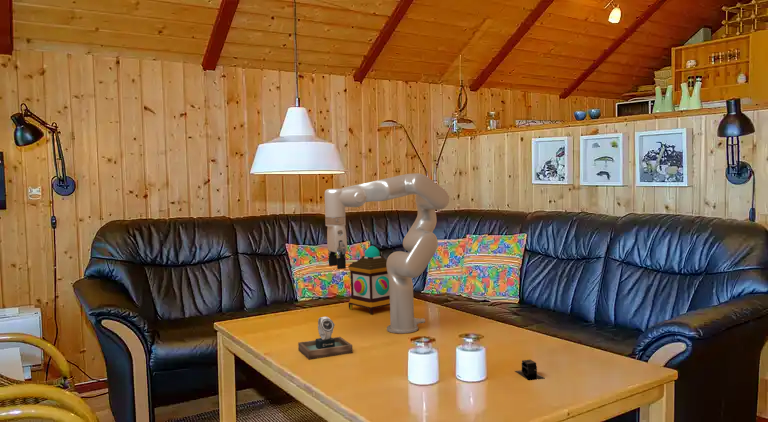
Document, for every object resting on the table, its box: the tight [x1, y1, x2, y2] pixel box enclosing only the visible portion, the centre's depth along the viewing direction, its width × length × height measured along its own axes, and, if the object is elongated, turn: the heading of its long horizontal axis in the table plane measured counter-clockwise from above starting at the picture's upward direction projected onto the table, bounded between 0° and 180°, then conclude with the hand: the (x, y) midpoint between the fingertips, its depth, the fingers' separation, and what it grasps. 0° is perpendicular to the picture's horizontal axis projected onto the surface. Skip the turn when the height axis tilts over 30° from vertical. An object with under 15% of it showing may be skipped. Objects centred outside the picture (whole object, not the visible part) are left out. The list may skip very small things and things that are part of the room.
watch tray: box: [297, 336, 353, 360], centre depth 214 cm, size 16×13×3 cm
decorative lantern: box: [347, 245, 390, 316], centre depth 281 cm, size 20×20×30 cm
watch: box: [315, 316, 336, 349], centre depth 214 cm, size 6×8×11 cm
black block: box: [514, 359, 546, 381], centre depth 182 cm, size 12×7×5 cm, turn 14°
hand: (337, 267), depth 225 cm, fingers open, 9 cm apart
